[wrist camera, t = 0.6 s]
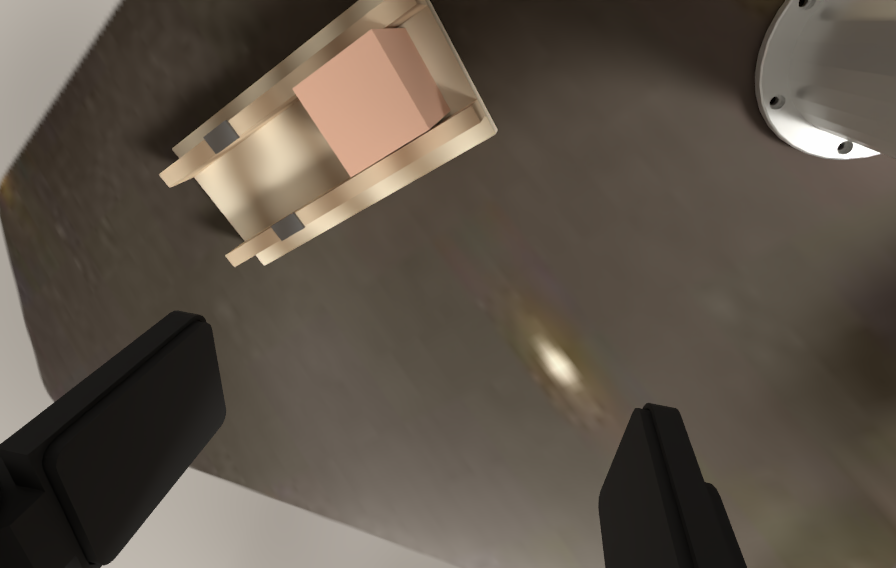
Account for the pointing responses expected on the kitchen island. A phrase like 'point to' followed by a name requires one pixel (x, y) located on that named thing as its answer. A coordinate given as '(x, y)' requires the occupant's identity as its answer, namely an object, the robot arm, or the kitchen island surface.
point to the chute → (321, 139)
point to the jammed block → (372, 98)
